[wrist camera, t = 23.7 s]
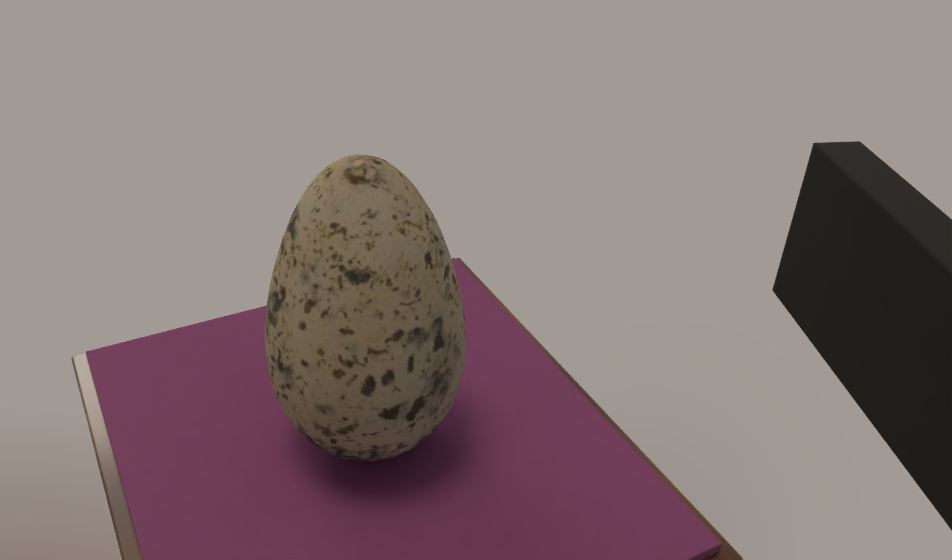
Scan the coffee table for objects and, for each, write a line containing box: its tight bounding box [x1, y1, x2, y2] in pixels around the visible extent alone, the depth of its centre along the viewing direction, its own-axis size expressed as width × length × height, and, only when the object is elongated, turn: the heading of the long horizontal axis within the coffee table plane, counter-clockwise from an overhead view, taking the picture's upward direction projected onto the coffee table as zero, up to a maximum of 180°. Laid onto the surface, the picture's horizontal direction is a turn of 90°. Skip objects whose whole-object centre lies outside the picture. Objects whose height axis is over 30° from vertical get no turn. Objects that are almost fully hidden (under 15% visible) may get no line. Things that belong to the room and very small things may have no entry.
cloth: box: [86, 258, 722, 560], centre depth 29 cm, size 17×15×1 cm
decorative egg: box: [265, 155, 466, 462], centre depth 26 cm, size 6×6×10 cm
